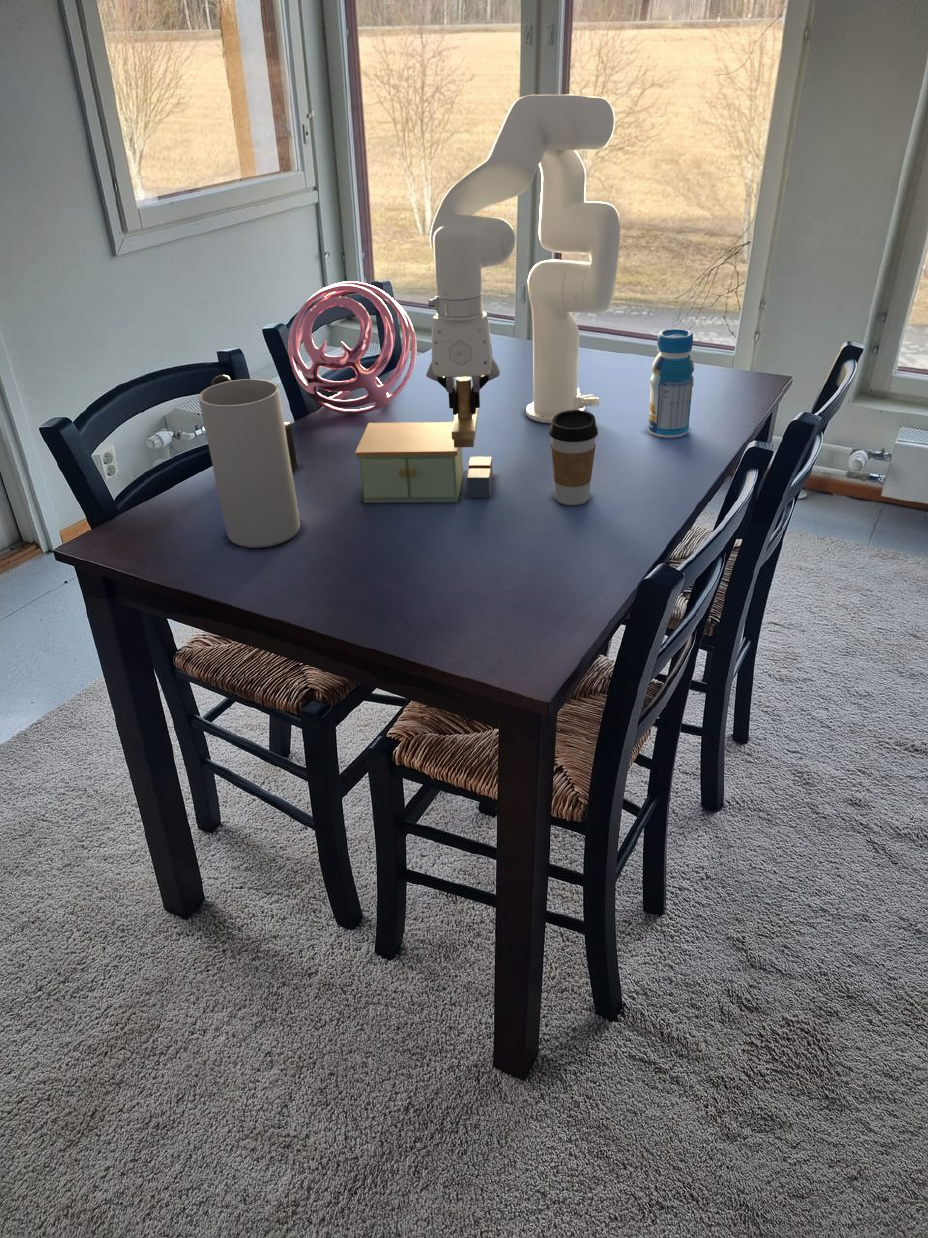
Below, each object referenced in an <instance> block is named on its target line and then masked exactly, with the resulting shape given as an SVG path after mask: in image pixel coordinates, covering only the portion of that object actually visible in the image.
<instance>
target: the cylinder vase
mask: <svg viewBox="0 0 928 1238" xmlns="http://www.w3.org/2000/svg"><path fill="white" fill-rule="evenodd" d="M280 394H281V393H280V387H279V385H278V384H277V383H275V382H274V381H271V380H267V379H260V378H258V379H257V378H245V379H244V378H242V379H234V380H231V381H228V382H223V383H219V384H216V385H213V386H212V385H211V386H208V387H207V388H205V389H203V390H202V391H201V392H200V393H199V394H198V401H199V402H198V403H199V406H200V411H201V415H202V421H203V425H204V426H203V427H204V430H205V435H206V439H207V445H208V450H209V454H210V460H211V465H212V468H213V473H214V478H215V484H216V488H217V494H218V498H219V502H220V503H219V504H220V507H221V508H220V509H221V512H222V517H223V522H224V527H225V530H226V535H227V538H228V539H229V540H230V542H232V543H233V544H235V545H236V546H240V547H243V548H251V549H259V548H260V549H262V548H269V547H273V546H277V545H280V544H283V543H285V542H287V541H289V540H291V539H292V538H294V537H295V536H296V535H297V534H298V532H299V530H300V528H301V520H300V514H299V507H298V501H297V500H298V499H297V494H296V489H295V482H294V477H293V475H294V474H293V472H292V469H291V463H290V456H289V450H288V444H287V437H286V431H285V425H284V422H285V419H284V414H283V407H282V406H283V405H282V400H281V395H280Z"/></svg>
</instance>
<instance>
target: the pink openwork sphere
mask: <svg viewBox="0 0 928 1238" xmlns="http://www.w3.org/2000/svg"><path fill="white" fill-rule="evenodd" d="M353 295H361V296H362V297H365V298H366V299H368V300H369V301H370V303H372V304H373V305H374V307H375V308H376V309H377V310H378V313H379V314H380V317H381V319H382V323H383V328H384V337H383V338H384V339H383V344H382V347H381V351H380V353H379V355H378V357H377V359H376V360H375V361H374V363H372V365H371V366H370V367H369V368H367V369H366V368H365V367H363V366H362V364H361V359H362V358H363V357H364V356H365V354H366V353H367V351H368V349H370V345H371V343H372V339H373V323H372V320H371V316H370V315H369V312H368V311H367V310H366V308H365V307H364V306H363V305H362V304H361V303H360V302H358V301H356V300H355V299H352V298H350V297H347V296H353ZM321 297H322V298H321ZM320 298H321V299H320ZM319 299H320V300H319ZM317 300H318V301H317ZM316 301H317V302H316ZM384 301H385V302H387V303H388V304H390V306H391V307H392V308H393V310H394V311H395V313H396V315H397V317H398V320H399V322H400V326H401V332H402V347H401V348H402V349H401V352H400V357H399V360H398V362H397V365H396V367H395V369H394V371H393V372H392V374H391V375H390V376H389V377H388V379H387V380H386V381H384V383H383V384H382V382H381V381H380V379H379V378H378V377H379V376H380V375H381V373H383V371H384V370H385V368H386V367H387V365H388V363H389V361H390V360H391V357H392V354H393V351H394V347H395V342H396V331H395V330H396V329H395V324H394V320H393V317H392V314H391V312H390V310H389V309H388V307H387V305H386V304H385V302H384ZM313 303H314V305H313ZM310 306H312V307H310ZM309 307H310V308H309ZM334 307H343V308H346V309H348V310H349V311H351V312H352V313H353V314H354V315H355V316H356V318H357V320H358V323H359V337H358V338H357V339H358V340H357V342H356V343H355V345H354V347H352V348H349V347H348V346H347V344H345V343H344V342H343V341H341V340H340V345H341V347H342V350H343V354H341V355H336V356H334V355H333V356H332V355H328V354H325V352H326V351H325V350H326V347H327V343H328V341H327V340H325V341H324V342H323V344H322V345H321V346H320V347H319V348H318V347H317V346H316V345H315V342H314V340H313V335H312V330H313V325H314V322H315V321H316V319H317V318H318V317H319V315H320V314H321V313H323V312H324V311H325V310H327V309H329V308H334ZM308 309H309V310H308ZM307 310H308V311H307ZM305 313H306V314H305ZM291 324H292V325H291V327H290V330H289V334H288V344H287V345H288V346H287V349H288V350H287V351H288V357H289V358H288V360H289V363H290V367H291V370H292V373H293V374H294V377H295V379H296V380H297V382H298V383H299V385H300V386H301V388H303V390H304V391H305V392H306V394H307V395H308V396H309V397H310V398H311V399H312V400H313V401H314V402H315V403H317V404H318V405H319V406H321V407H323V408H325V409H327V410H328V411H329V410H330V411H332V412H334V413H337V414H342V415H363V414H367V413H368V414H369V413H372V412H374V411H375V412H376V411H377V410H380V409H382V408H383V409H384V408H385V407H387V406H389V405H390V404H391V403H392V402H393V401H394V400H395V399H396V398H397V397H398V396H399V395H400V394H401V392H402V391H403V390H404V389H405V387H406V386H407V384H408V383H409V381H410V378H411V377H412V375H413V372H414V369H415V365H416V361H417V351H418V350H417V349H418V347H417V337H416V332H415V329H414V326H413V324H412V322H411V319H410V317H409V316H408V314H407V312H406V311H405V310H404V308H403V307H402V306H401V305H400V304H399V303H398V302H397V301H396V300H394V298H393V297H391V296H390V295H389V294H388V293H386V292H385V291H384V290H382V289H380V288H378V287H376V286H374V285H371V284H368V283H366V282H365V283H364V282H359V281H342V282H338V283H334V284H331V285H329V286H326V287H323V288H322V289H320V290H318V291H317V292H316V293H314V294H313V295H312V296H310V298H308V299H307V300H306V301H305V303H303V304H302V306H301V307H300V309H299V310H298V312H297V313H296V315H295V316H294V319H293V321H292V323H291ZM302 343H303V347H304V349H305V351H306V354H307V355H308V356H309V358H310V359H311V366H310V367H309V368H308V366H307V365H306V364H305V363H304V361H303V359H302V356H301V345H302ZM410 351H411V357H410ZM409 357H410V362H409V366H408V369H407V371H406V374H405V376H404V377H403V379H402V381H401V382H400V384H399V385H398V387H397V388H396V389H395V390H394V391H392V393H391V394H389V392H390V390H391V389H392V388H394V386H395V385H396V384H397V382H398V381H399V380H400V378H401V377H402V375H403V373H404V372H405V371H404V370H405V369H406V366H407V363H408V360H409ZM321 367H322V368H326V369H329V370H341V369H346V368H349V367H350V368H352V369H353V370H354V371H355V375H356V376H355V377H354V378H351V379H348V380H342V381H337V380H336V381H335V380H329V379H325V378H322V377H321V376H320V375H319V370H320V368H321ZM317 388H319V389H322V390H324V391H328V392H333V393H334V392H335V393H337V394H334V395H332V396H329V397H327V396H325V395H322V394H321V393H320V392H319V391H318V390H317ZM358 389H365V390H366V391H367V393H366V395H364V396H362V397H359V398H354V399H346V398H347V397H348V396H349V395H350V394H351V393H352V392H353V391H355V390H358ZM345 399H346V400H345ZM373 403H375V404H374V405H371V406H367V407H365V408H360V409H352V408H357V407H362V406H366V405H368V404H373ZM347 408H349V409H347ZM350 408H351V409H350Z"/></svg>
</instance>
